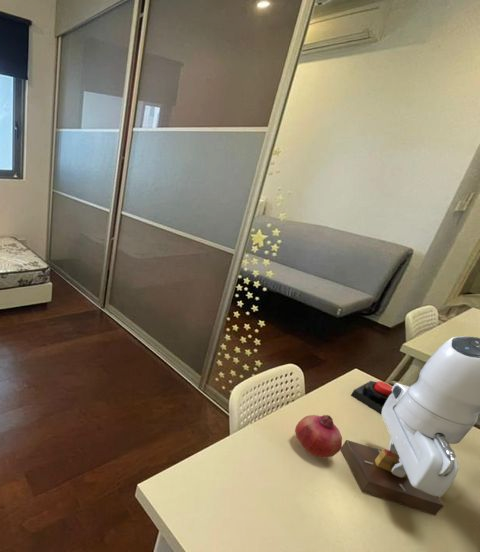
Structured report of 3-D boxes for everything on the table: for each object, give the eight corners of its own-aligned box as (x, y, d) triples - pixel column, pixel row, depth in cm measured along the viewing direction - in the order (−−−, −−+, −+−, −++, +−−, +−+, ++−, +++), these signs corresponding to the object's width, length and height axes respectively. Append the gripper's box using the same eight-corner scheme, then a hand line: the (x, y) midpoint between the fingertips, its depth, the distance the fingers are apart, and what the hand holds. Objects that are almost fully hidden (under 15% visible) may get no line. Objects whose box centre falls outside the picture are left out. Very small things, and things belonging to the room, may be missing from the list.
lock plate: (403, 467, 69) (411, 458, 67) (435, 515, 60) (444, 505, 59) (340, 448, 71) (346, 439, 70) (361, 491, 63) (369, 481, 61)
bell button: (377, 384, 88) (380, 379, 87) (393, 393, 85) (396, 388, 85) (371, 388, 87) (374, 383, 86) (387, 397, 84) (390, 392, 83)
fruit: (340, 462, 68) (362, 429, 64) (313, 470, 66) (334, 436, 62) (307, 431, 75) (325, 399, 71) (281, 436, 73) (297, 404, 69)
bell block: (367, 386, 93) (373, 375, 91) (401, 406, 87) (409, 395, 85) (350, 395, 88) (357, 384, 87) (385, 417, 82) (393, 406, 80)
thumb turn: (405, 472, 64) (415, 460, 63) (408, 479, 63) (418, 466, 61) (374, 460, 66) (383, 447, 65) (376, 466, 65) (386, 453, 63)
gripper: (486, 471, 49) (435, 525, 54) (431, 391, 65) (396, 438, 71) (431, 450, 51) (388, 503, 57) (392, 378, 68) (361, 424, 74)
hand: (392, 466), depth 64 cm, fingers closed, pressing on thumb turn
